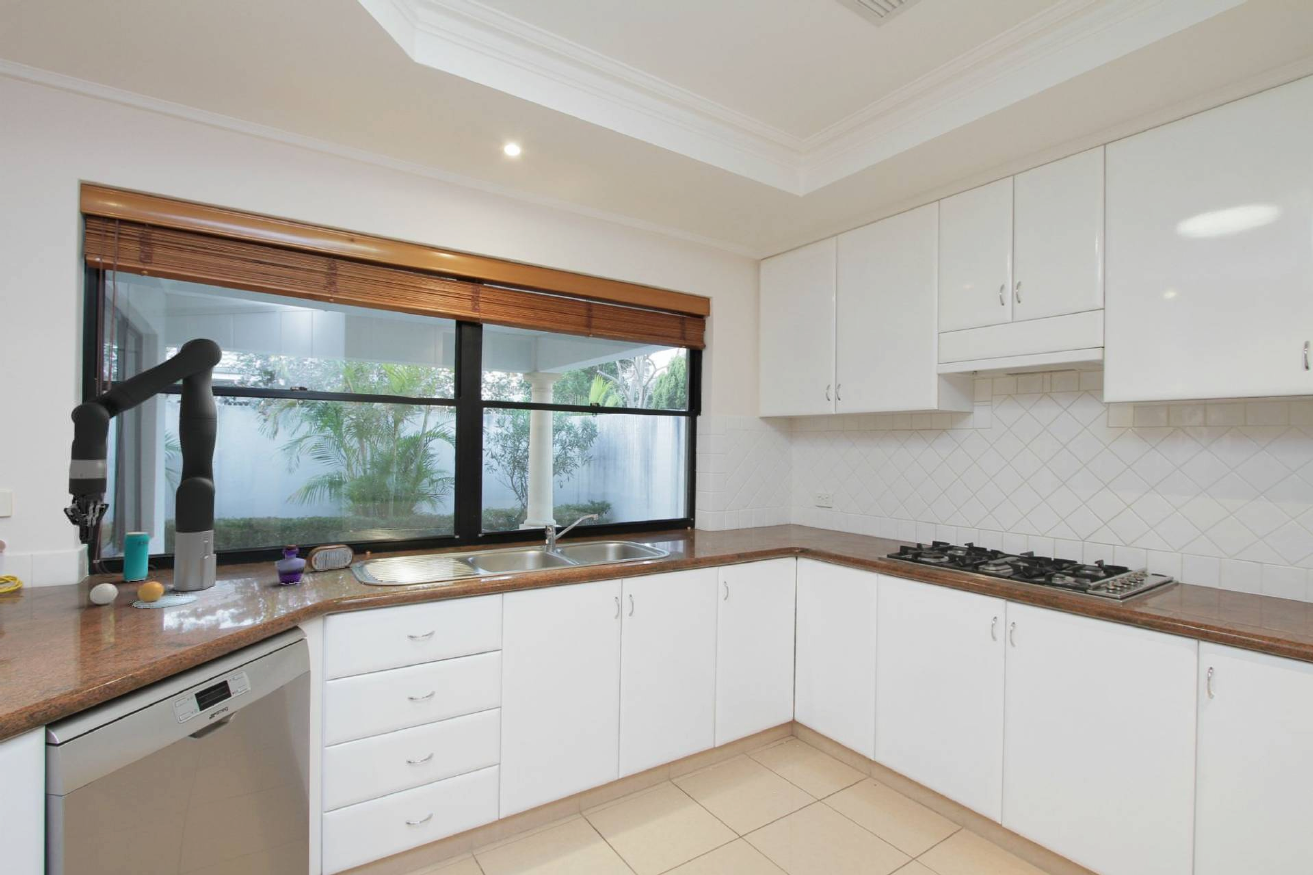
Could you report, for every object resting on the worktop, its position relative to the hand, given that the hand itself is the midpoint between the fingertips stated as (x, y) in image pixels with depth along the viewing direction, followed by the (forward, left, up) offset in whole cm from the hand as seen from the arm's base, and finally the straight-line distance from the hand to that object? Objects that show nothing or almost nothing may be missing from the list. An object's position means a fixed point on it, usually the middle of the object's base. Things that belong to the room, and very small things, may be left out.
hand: (86, 540), depth 164 cm
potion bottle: (-43, -21, -17) cm, 51 cm away
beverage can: (+4, -26, -17) cm, 31 cm away
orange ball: (-16, 0, -14) cm, 22 cm away
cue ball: (-6, +2, -14) cm, 16 cm away
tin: (-48, -41, -17) cm, 65 cm away
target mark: (-20, 0, -17) cm, 26 cm away
